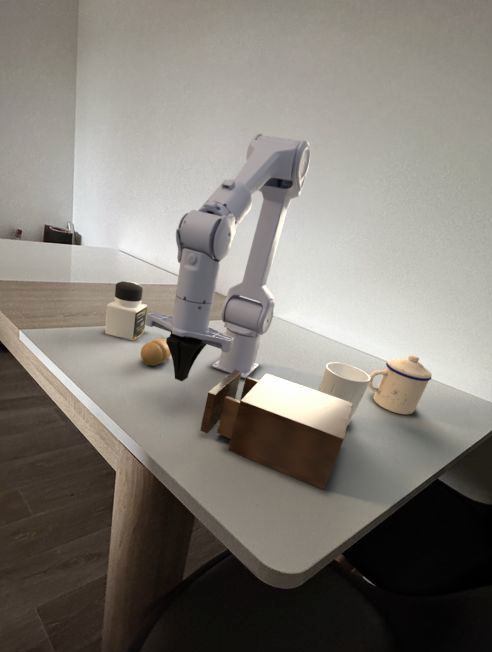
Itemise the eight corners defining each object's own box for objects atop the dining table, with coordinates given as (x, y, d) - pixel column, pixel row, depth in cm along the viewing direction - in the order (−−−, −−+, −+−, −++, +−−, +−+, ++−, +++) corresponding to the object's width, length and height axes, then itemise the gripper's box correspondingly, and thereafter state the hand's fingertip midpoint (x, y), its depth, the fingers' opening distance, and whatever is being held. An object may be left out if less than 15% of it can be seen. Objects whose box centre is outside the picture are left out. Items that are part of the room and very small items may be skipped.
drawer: (193, 428, 60) (200, 389, 58) (221, 401, 70) (229, 366, 67) (283, 465, 56) (296, 425, 53) (300, 430, 66) (311, 395, 63)
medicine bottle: (133, 341, 90) (138, 289, 85) (104, 333, 91) (107, 282, 86) (144, 332, 97) (149, 284, 91) (117, 325, 97) (121, 277, 92)
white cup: (351, 416, 77) (370, 370, 72) (351, 435, 70) (371, 386, 65) (312, 404, 78) (327, 358, 74) (307, 421, 71) (324, 372, 67)
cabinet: (228, 450, 59) (240, 400, 55) (254, 416, 69) (266, 373, 66) (323, 490, 54) (343, 439, 51) (335, 447, 65) (353, 403, 61)
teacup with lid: (403, 398, 90) (424, 352, 85) (422, 418, 82) (446, 368, 77) (354, 389, 89) (372, 342, 84) (367, 409, 81) (389, 358, 76)
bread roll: (155, 353, 86) (157, 333, 84) (174, 360, 85) (177, 340, 83) (134, 363, 79) (137, 341, 77) (155, 371, 78) (158, 349, 76)
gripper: (139, 288, 58) (130, 371, 64) (228, 316, 54) (210, 401, 60) (163, 283, 64) (153, 359, 70) (245, 308, 60) (227, 386, 66)
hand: (181, 378), depth 65 cm, fingers closed
